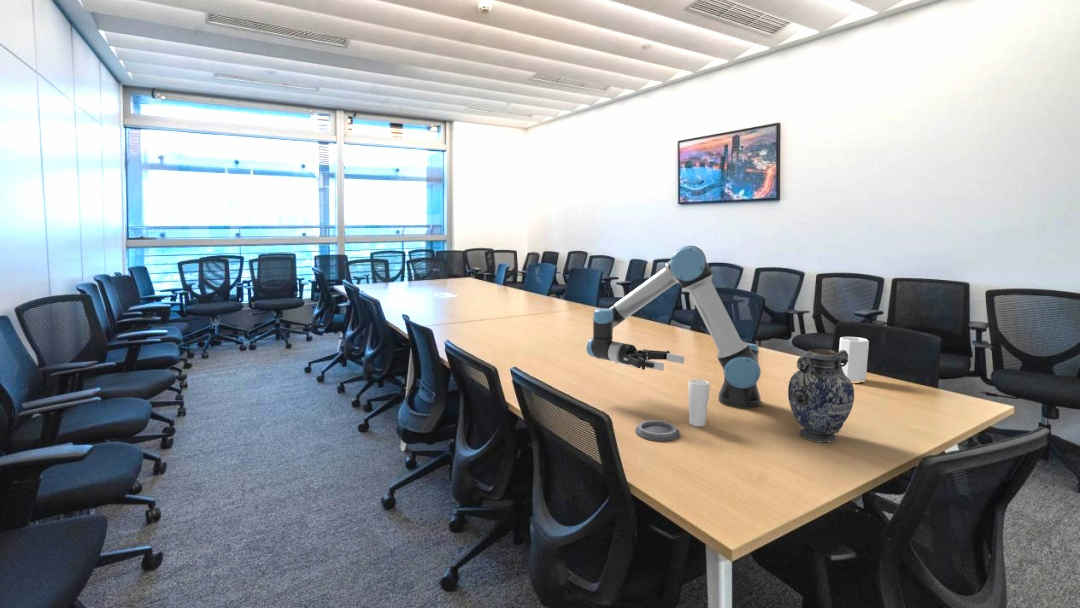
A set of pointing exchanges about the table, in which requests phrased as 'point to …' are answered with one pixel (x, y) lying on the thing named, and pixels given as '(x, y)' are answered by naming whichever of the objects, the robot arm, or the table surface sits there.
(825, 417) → the decorative vase
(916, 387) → the table surface
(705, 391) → the drinking glass
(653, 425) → the coaster
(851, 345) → the cup
